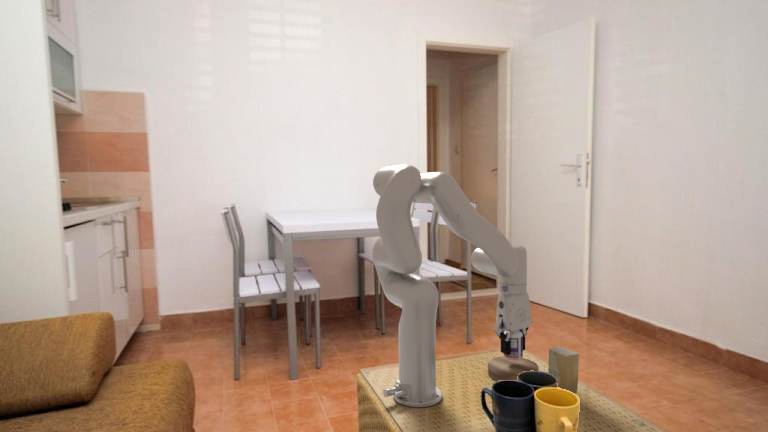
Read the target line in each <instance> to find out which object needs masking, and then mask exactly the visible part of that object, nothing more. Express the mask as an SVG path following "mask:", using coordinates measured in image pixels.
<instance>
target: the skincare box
mask: <svg viewBox="0 0 768 432" xmlns="http://www.w3.org/2000/svg"><path fill="white" fill-rule="evenodd" d="M579 357H580V355H579V353H578V352H576V351H572V350H571V349H569V348H565V347H564V346H555V347H550V348H548V369H547V370H548V372H547V373H549V374H551V375H553V376H554V377H555V378H556V379H557V383H558V387H560V388H562V389H566V390H569V391H571V392H573V393H575V394H577V395H578V389H579V388H578V387H579V362H580V361H579V359H580V358H579Z"/></svg>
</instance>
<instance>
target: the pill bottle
mask: <svg viewBox="0 0 768 432" xmlns="http://www.w3.org/2000/svg"><path fill="white" fill-rule="evenodd" d="M506 332H507V331H504V334H505V335H506ZM509 341H511V354H510V355H507V354H504V353H502V354H503V356H504V358H506V359H508V360H514V361H516V360H521V359H522V358H524V356H523V355H524V350H523V334H522V332H521V331H519V330H517V331H513V332H511V334H510V338H509Z"/></svg>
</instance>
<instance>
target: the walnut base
mask: <svg viewBox="0 0 768 432" xmlns="http://www.w3.org/2000/svg"><path fill="white" fill-rule="evenodd" d="M539 369H540V367H539V365H538V364H537V363H536V362H535V361H533V360H531V359H528V358H524V357H523V358H522V359H521V360H516V361H514V360H508V359H506V358H504V355H503V356H497V357H494V358H491V359H489V360H488V362H487V376H488V377H489V378H490V379H491V380H493V381H495V382H497V381H498V380H517V376H518V374H519V373H521V372H523V371H530V370H534V371H538V372H539Z"/></svg>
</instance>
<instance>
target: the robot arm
mask: <svg viewBox="0 0 768 432" xmlns="http://www.w3.org/2000/svg"><path fill="white" fill-rule="evenodd" d="M372 186H373V189H374V191H375V193H376V194H377V195H378V196H379V199H378V202H377V205H376V211H375V212H376V213H375V214H376V216H375V217H376V223H377V228H378V232H379V235H380V237H378V238H377V239H376V241H375V242H374V244H373V246H372V261H373V264H374V268H375V270H376V274H377V277H378V280H379V282H380V287H382V288H381V289H382V290H383V294H384V296H385V297H386V299H387V300H388V301H389V302H390V303H391V304H393V305H395V306H397V307H399V308H401V314H400V318H399V320H398V321H399V322H398V330H397V331H398V332H397V333H398V379H397V380H395V384H394V385H393V386H392V387H388V388H384V389H383V390H382V391H383V392H382V393H383V396H384V397H385V398H388V397H391V396H392V397H393V399H394V401H396V403H398V404H400V405H403V406H406V407H411V408H426V407H430V406H431V407H432V406H434V405H436V404H438V403H439V402H440V401H441V400H442V399H443V393H442V391H441V389H440V388H439V387H438V386H437V381H436V380H437V375H436V374H437V372H436V370H437V368H436V367H437V365H436V364H437V361H436V358H437V357H436V356H437V353H436V350H437V349H436V348H437V346H436V343H437V342H436V341H437V340H436V338H437V337H436V320H437V312H438V307H439V301H440V299H439V298H440V294H439V291H438V288H437V286H436V285H435V283H434V282H433V281H432V280H430V279H429V278H427V277H424V276H422V275H420V274H417V273H416V274H415V272H417V271H418V270H419V269H420V268H421V266H422V264H423V263H422V262H423V255H422V250H421V247H420V244H419V241H418V238H417V234H416V233H415V228H414V225H413V221H412V217H411V216H412V215H411V214H412V213H411V210H412V205H413V203H414V204H415V203H417V204H431V206H433V208H434V209H435V210H436V212H437V213H438V214H439V216H440V217H441V219H442V220H443V222H444V223H445V224H446V225H447V227H448V229H449V230H450V231H451V232H452V233H454V235H456V236H458V237H459V238H461V239H463V240H465V241H466V242H469V243H471V244H473V246H474V245H475V247H477V248H476V249H474V250H473V251H472V253H471V255H470V256H471V257H470V261H471V265H472V267H474V269H476V270H477V271H479V272H481V273H484V274H488V275H492V276H498V277H499V278H498V279H499V283H498V284H499V285H498V286H499V287H498V291H499V292H498V297H497V304H496V320H495V321H496V323H495V326H494V327H493V332H494V333H495V334H496V335H497V337H498V338H499V340H500V353H502V354H503V353H504V354H507V355H510V354H511V341H509V338H510V334H511V332H513V331H517V330H519V331H521V332H522V334H523V351H526V337H527V335H528V330H529V327H530V326H531V324H532V322H533V321H532V313H531V311H532V310H531V301H530V295H529V292H527V291H528V287H527V285H528V283H527V281H528V277H527V276H528V271H527V270H528V269H527V268H528V265H527V264H528V262H527V261H528V260H527V259H528V258H527V257H528V253H527V248H526V247H525V246H524V245H516V244H511V243H510V241H509V240H508V238H507V237H506V236H505V235H504V233H503V232H502V231H500V229H498V228H497V227H496V226H494V225H493V224H492V223H491V222H490V221H488V220H487V219H486V218H485V217H484V216H483V215H481V214H480V213H479V212H478V211H477V210H476V208H475V207H474V205H473V204H472V202H471V201H470V199H469V198H468V197H467V195H466V194H465V193H464V190H463V189H462V188H461V187H460V186H459V184H458V182H457V181H456V179H455V178H454V177H453V175H452V174H450V173H448V172H445V171H432V172H420V170H419V169H418V168H417V167H416V166H413V165H411V164H398V165H397V164H396V165H390V166H385V167H382V168H380V169H379V170H378V171H377V172H376V173H375V174H374V176H373V179H372ZM504 331H507V332H506V335H505V334H504ZM504 354H503V355H504Z"/></svg>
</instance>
